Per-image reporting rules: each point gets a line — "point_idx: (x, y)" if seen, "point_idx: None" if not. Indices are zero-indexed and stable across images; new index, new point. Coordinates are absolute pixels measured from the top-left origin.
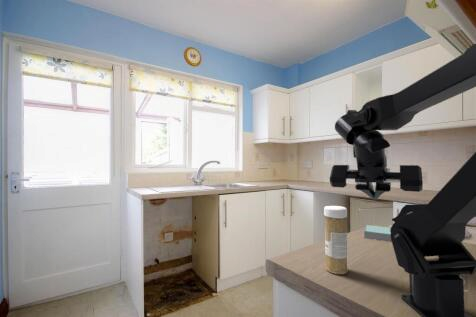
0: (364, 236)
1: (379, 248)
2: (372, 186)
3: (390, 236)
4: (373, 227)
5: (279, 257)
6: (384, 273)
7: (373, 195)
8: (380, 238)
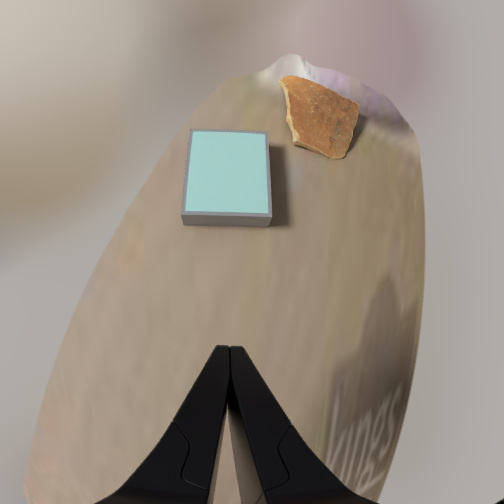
0: (183, 222)
1: (231, 319)
2: (217, 455)
3: (266, 219)
4: (213, 152)
5: (27, 489)
6: None
7: (223, 430)
8: (234, 223)
